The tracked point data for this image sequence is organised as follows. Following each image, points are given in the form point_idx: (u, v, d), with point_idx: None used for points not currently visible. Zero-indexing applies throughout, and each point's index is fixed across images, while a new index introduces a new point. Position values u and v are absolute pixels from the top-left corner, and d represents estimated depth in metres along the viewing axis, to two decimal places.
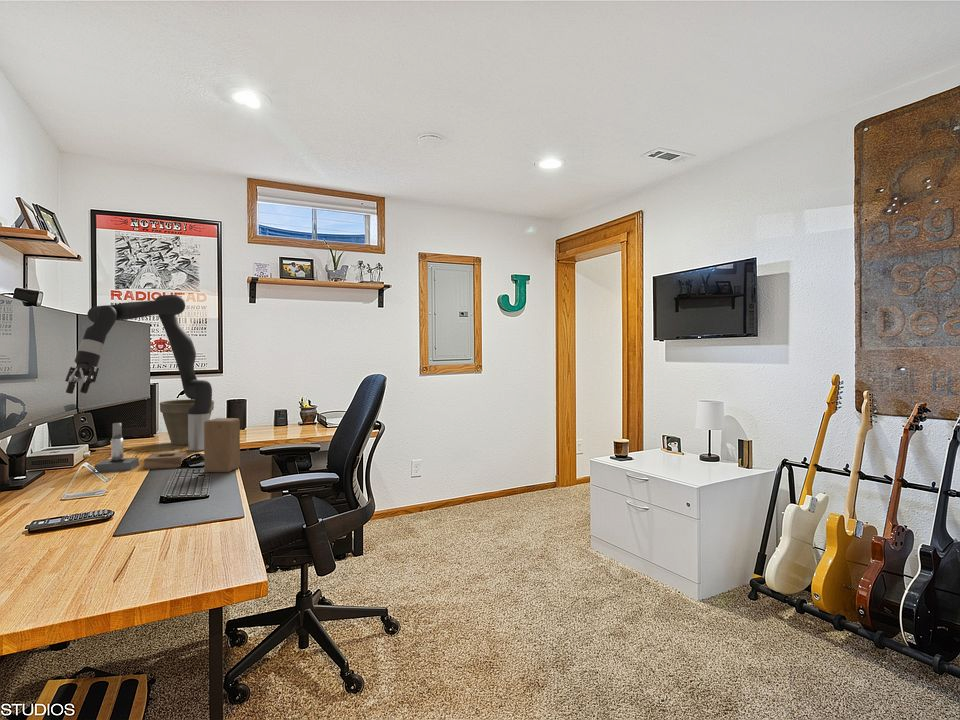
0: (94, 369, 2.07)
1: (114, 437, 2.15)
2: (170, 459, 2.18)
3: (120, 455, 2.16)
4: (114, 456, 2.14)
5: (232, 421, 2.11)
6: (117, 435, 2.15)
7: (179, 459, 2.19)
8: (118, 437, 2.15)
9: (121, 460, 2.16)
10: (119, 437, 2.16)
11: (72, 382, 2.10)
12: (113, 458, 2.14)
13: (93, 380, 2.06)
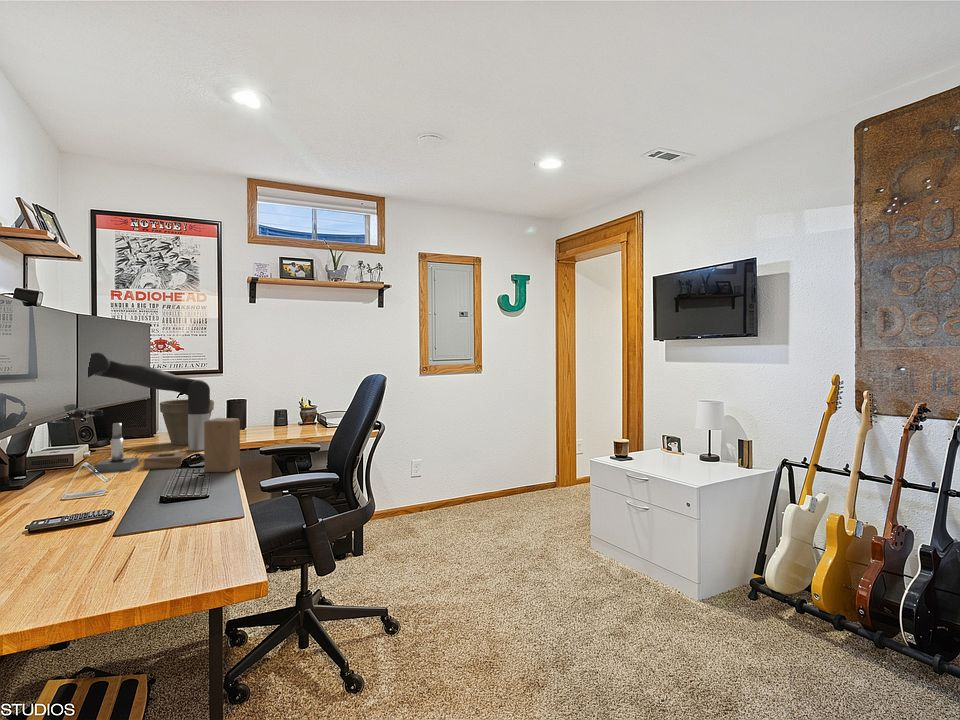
0: None
1: (114, 437, 2.15)
2: (170, 459, 2.18)
3: (120, 455, 2.16)
4: (114, 456, 2.14)
5: (232, 421, 2.11)
6: (117, 435, 2.15)
7: (179, 459, 2.19)
8: (118, 437, 2.15)
9: (121, 460, 2.16)
10: (119, 437, 2.16)
11: (93, 413, 2.23)
12: (113, 458, 2.14)
13: None
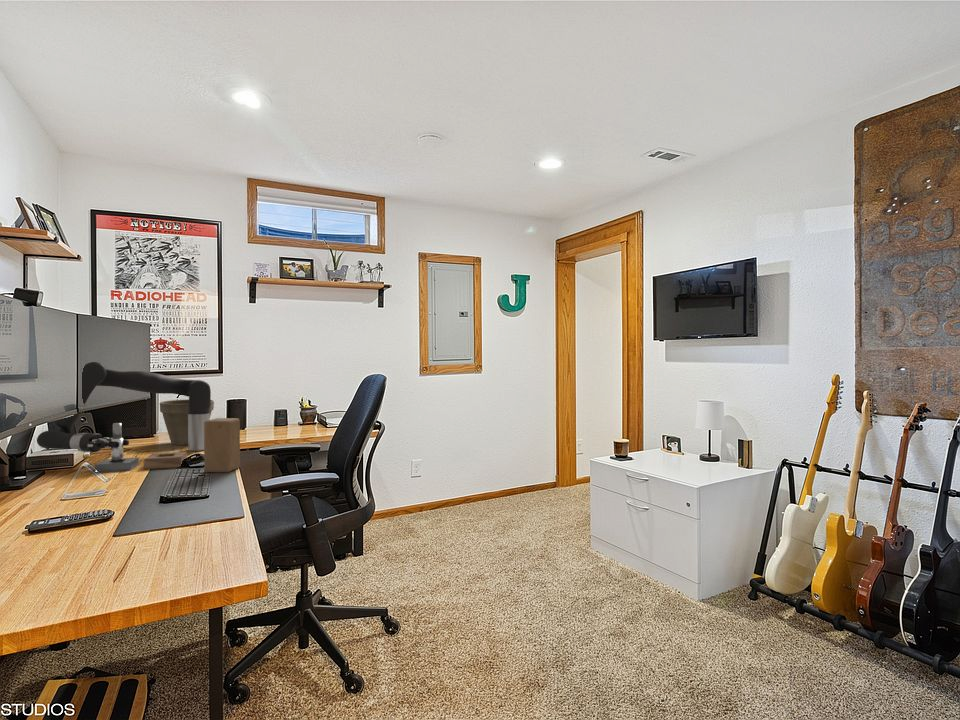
0: (90, 446, 2.11)
1: (114, 437, 2.15)
2: (170, 459, 2.18)
3: (120, 455, 2.16)
4: (114, 456, 2.14)
5: (232, 421, 2.11)
6: (117, 435, 2.15)
7: (179, 459, 2.19)
8: (118, 437, 2.15)
9: (121, 460, 2.16)
10: (119, 437, 2.16)
11: None
12: (113, 458, 2.14)
13: (101, 443, 2.12)
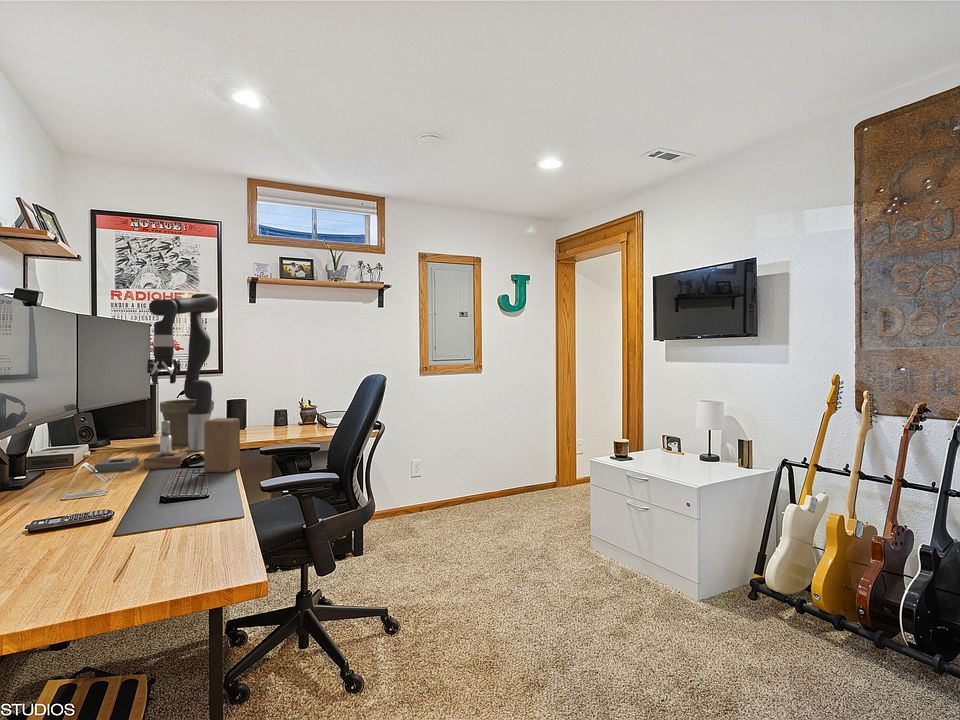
0: (177, 362, 2.32)
1: (163, 435, 2.21)
2: (170, 459, 2.18)
3: (169, 452, 2.22)
4: (163, 453, 2.21)
5: (232, 421, 2.11)
6: (166, 433, 2.22)
7: (179, 459, 2.19)
8: (167, 435, 2.22)
9: None
10: (168, 435, 2.22)
11: (155, 373, 2.34)
12: (162, 455, 2.21)
13: (179, 371, 2.32)
